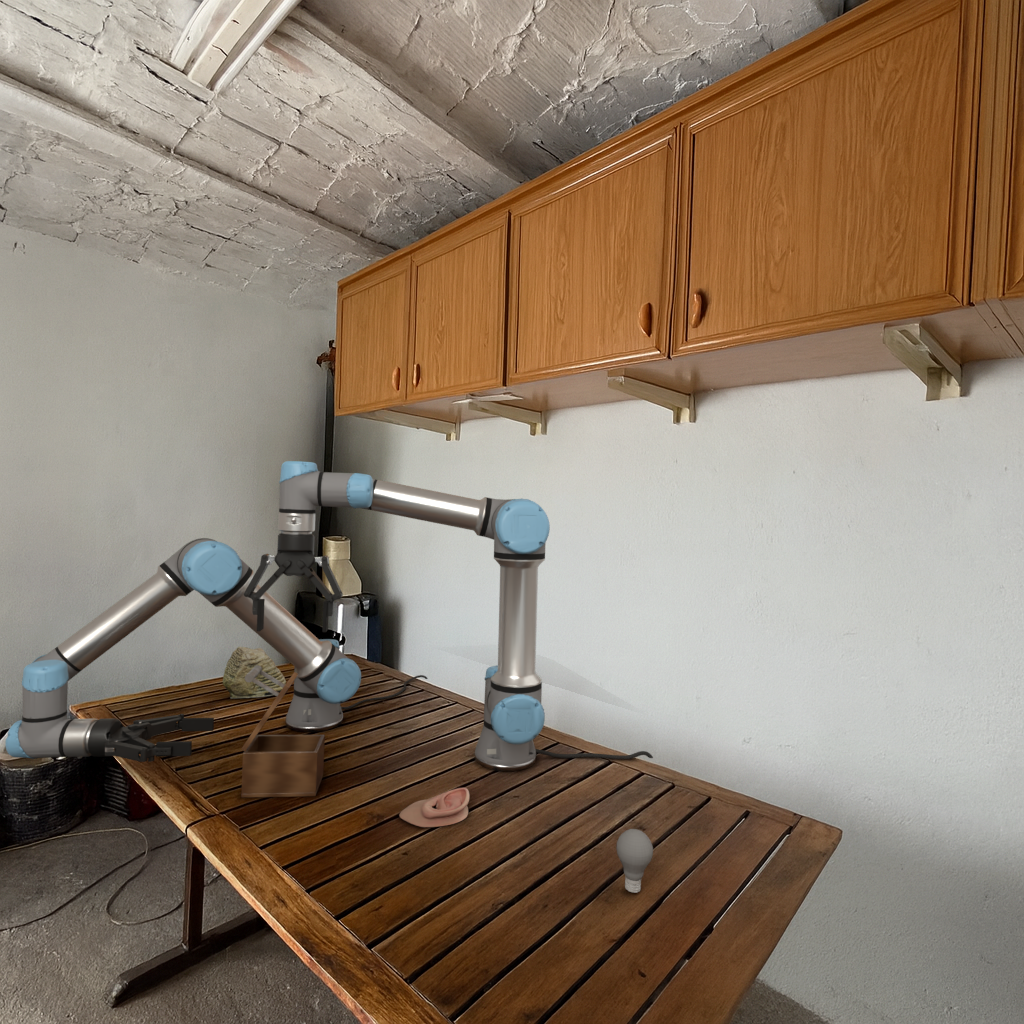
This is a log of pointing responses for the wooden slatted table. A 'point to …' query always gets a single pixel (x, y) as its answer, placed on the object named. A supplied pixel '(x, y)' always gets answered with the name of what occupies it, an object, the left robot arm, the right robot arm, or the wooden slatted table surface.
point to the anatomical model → (438, 809)
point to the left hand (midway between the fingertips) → (202, 735)
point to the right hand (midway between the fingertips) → (292, 630)
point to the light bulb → (634, 857)
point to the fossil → (242, 665)
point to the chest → (283, 766)
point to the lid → (251, 678)
